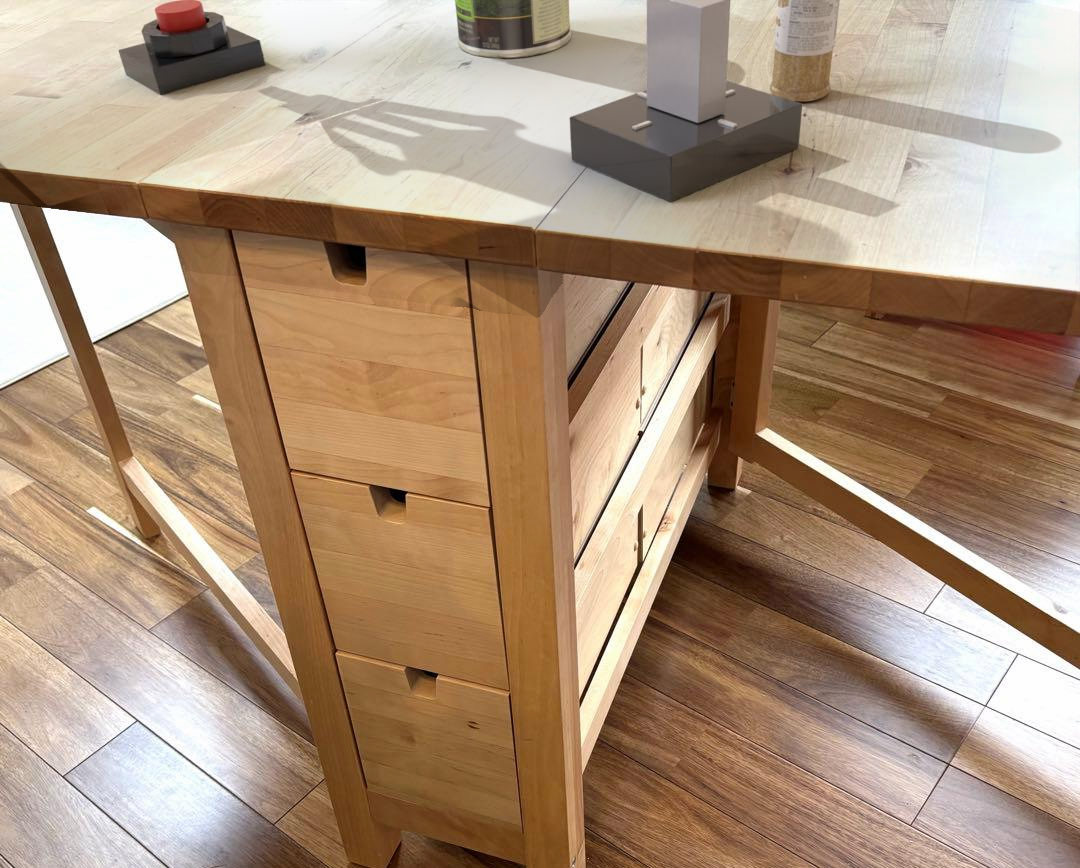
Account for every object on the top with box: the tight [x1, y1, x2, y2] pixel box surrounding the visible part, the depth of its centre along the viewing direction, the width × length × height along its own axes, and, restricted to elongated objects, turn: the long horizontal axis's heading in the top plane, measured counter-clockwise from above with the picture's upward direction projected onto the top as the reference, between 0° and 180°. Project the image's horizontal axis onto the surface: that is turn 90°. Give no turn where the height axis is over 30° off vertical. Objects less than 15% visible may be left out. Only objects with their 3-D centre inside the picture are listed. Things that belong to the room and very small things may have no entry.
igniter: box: [117, 11, 266, 96], centre depth 93 cm, size 10×8×4 cm
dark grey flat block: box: [569, 80, 803, 203], centre depth 71 cm, size 12×10×3 cm
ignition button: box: [154, 0, 207, 32], centre depth 91 cm, size 4×4×2 cm
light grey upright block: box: [646, 0, 731, 123], centre depth 68 cm, size 5×2×7 cm, turn 38°
